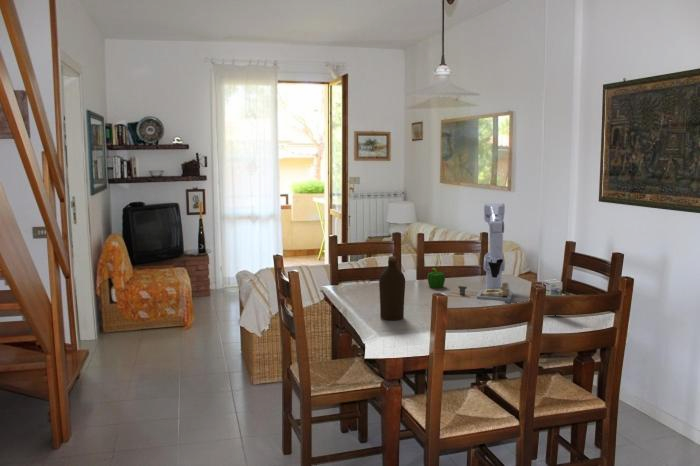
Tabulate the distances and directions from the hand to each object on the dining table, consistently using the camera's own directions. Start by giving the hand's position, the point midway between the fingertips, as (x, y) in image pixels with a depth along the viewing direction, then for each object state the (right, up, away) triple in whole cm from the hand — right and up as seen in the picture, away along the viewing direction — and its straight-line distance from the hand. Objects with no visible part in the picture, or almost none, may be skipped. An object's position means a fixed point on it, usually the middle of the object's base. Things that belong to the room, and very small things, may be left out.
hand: (495, 275), depth 288 cm
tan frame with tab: (-1, -9, -4) cm, 10 cm away
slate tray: (-1, -10, -4) cm, 11 cm away
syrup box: (+15, -14, -33) cm, 39 cm away
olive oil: (-51, -15, -36) cm, 64 cm away
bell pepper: (-25, -8, +17) cm, 31 cm away
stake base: (-15, -9, +1) cm, 18 cm away
